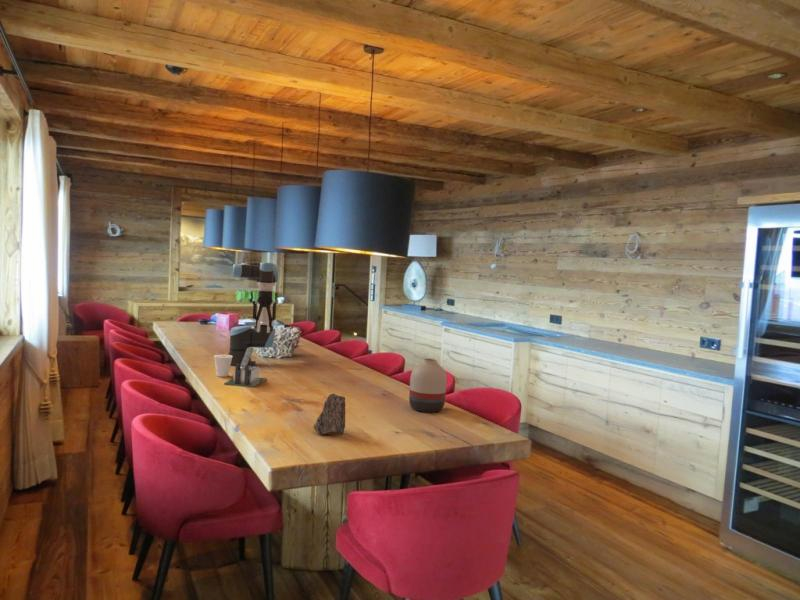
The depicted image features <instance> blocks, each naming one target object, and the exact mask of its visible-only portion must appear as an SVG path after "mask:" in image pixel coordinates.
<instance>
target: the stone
mask: <svg viewBox="0 0 800 600" xmlns="http://www.w3.org/2000/svg"><path fill="white" fill-rule="evenodd" d="M345 428H346V397H345V396H342V395H337V394H336V393H330V394H328V396H327V399H326V400H325V401H324V405H323V408H322V411H321V413H320V414H319V415H318V417H317V418H316V421H315V423H314V425H313V429H314V431H315V432H316V434H317V435H319V436H323V435H327V434H331V433H340V434H344V433H345Z"/></svg>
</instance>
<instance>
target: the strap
mask: <svg viewBox="0 0 800 600" xmlns="http://www.w3.org/2000/svg"><path fill="white" fill-rule="evenodd" d="M253 352H254V347H249V348H247V350H246V353H245V355H244V358H243V360H242V363H241V365H240V367H239V370H245V366H246V365H247V364H248V362H249V359H250V357H251V356H252V354H253ZM251 358H252V357H251Z"/></svg>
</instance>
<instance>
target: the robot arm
mask: <svg viewBox="0 0 800 600" xmlns="http://www.w3.org/2000/svg"><path fill="white" fill-rule="evenodd" d="M278 275H279V273H278V267H277V264H275V263H273V262H254V261H253V262H252V261H249V262H243V263H234V264H233V266H232V277H234V278H238V279H239V278H241V279H243V280H247V281H255V282H256V285H257V286H258V292H257V293H258V295H257V296H258V297H257V300H253V301H252V305H253V306H252V319H253V320H255V324H254V325H253V327H251V326H250V325H239V326H238V325H237V326H234V327H232V328H231V329H230V334H229V337H230V338H229V351H228V354H227V355H231V356H233V357H232V361H231V365H230V366H233V367H234V366H235V367H236V365H237V364H239V365H241V363H242V360H243V358H244V355H245V353H246V350H247V348H261V349H263V348H264V349H265V348H267V349H268V348H272V347H273V346H274V341H275V340H274V339H275V335H276V328H274V325H273V321H275V320H276V319H277V318H276V316H277V306H278V302H277V301H273V291H274V290H273V289H274V286H276V283H278V281H279V280H278V279H279V277H278ZM250 361H252V357H250V359H249V362H250ZM249 362H248V364H247V365H249Z"/></svg>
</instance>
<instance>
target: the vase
mask: <svg viewBox="0 0 800 600" xmlns="http://www.w3.org/2000/svg"><path fill="white" fill-rule="evenodd" d="M409 379H410V380H409V393H408V395H409V397H408V398H409V399H408V400H409V401H408V402H409V404H410V407H411V408H412V409H413V410H415V411H418V412H423V413H436V412H437V413H438V412H440V411H441V410H443V408H444V406H445V403H446V402H445V401H446V392H447V380H448V379H447V372H446V371H445V369H444V368H443V367H442V366H441V365H440V364H439V363H438V360H437V359H435V358H423V359H422V361H421V362H420V363H419V364H416V366H414V367H413V369H412V371H411V374H410V378H409Z"/></svg>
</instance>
